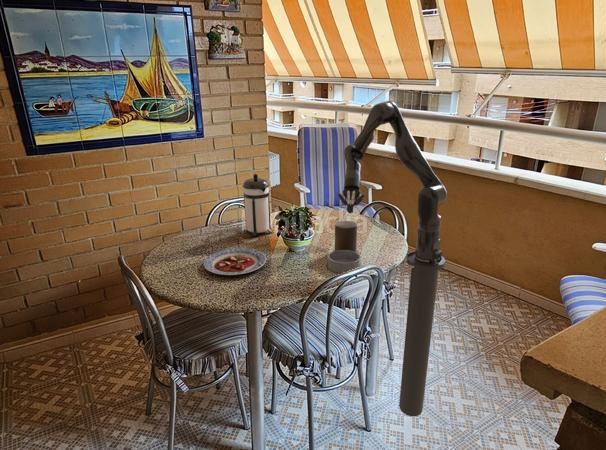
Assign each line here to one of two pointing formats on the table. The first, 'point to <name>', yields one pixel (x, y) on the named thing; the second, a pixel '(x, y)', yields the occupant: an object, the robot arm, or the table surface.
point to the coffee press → (257, 205)
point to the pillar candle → (346, 235)
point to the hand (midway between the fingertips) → (349, 212)
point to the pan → (343, 260)
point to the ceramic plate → (234, 261)
